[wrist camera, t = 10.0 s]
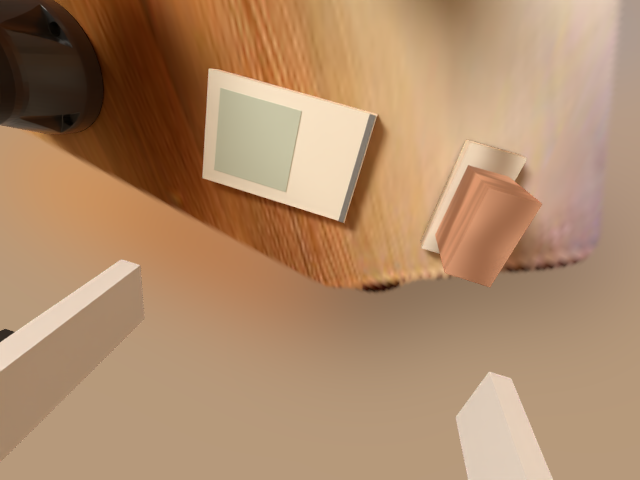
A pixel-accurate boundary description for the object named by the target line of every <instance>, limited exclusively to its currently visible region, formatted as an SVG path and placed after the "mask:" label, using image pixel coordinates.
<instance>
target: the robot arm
mask: <svg viewBox="0 0 640 480" xmlns="http://www.w3.org/2000/svg"><path fill="white" fill-rule="evenodd" d="M102 100H103V81H102V75H101V70H100V66H99V63H98V60H97V57H96V54H95V52H94V50H93V47H92V45H91V43H90V41H89V40H88V38H87V36H86V34H85V33H84V31H83V30H82V28H81V27H80V26H79V24H78V23H77V22H76V20H75V19H74V18H73V17H72V16H71V15H70V14H69V13H68V12H67V11H66V10H65V9H64V8H63V7H62V6H61V5H59V4H58V3H57V2H55V1H54V0H0V125H2V126H7V127H13V128H18V129H24V130H29V131H35V132H40V133H46V134H68V133H75V132H79V131H82V130H85V129H86V128H88V127H89V126H90V125H91V124H93V122H94V121H95V120H96V118H97V116H98V115H99V112H100V109H101V106H102ZM143 320H144V308H143V295H142V281H141V269H140V265H138V264H135V263H131V262H128V261H125V260H120V261H118V262H117V263H116V264H114V265H112V266H111V267H110V268H108V269H107V270H105V271H104V272H102V273H101V274H99V275H98V276H96V277H95V278H93V279H92V280H91V281H89V282H88V283H86V284H85V285H83V286H82V287H80V288H79V289H78V290H76V291H74V292H73V293H72V294H70V295H69V296H67V297H66V298H64V299H63V300H61V301H60V302H58V303H57V304H55V305H54V306H53V307H51V308H50V309H48V310H47V311H45V312H44V313H43V314H41V315H39V316H38V317H37V318H35V319H34V320H32V321H31V322H29V323H28V324H26V325H25V326H24V327H22V328H20V329H19V330H18V331H16V332H13V331H10V330H7V329H4V330H2V331H0V462H1V461H2V460H3V459H4V458H5V457H6V456H7V455H8V454H9V453H10V452H11V451H12V450H13V449H14V448H15V447H16V446H17V445H18V444H19V443H20V442H21V441H22V440H23V439H24V438H25V437H26V436H27V435H28V434H29V433H30V432H31V431H32V430H33V429H34V428H35V427H36V426H37V425H38V424H39V423H40V422H41V421H42V420H43V419H44V418H45V417H46V416H47V415H48V414H49V413H50V412H51V411H52V410H53V409H54V408H55V407H56V406H57V405H58V404H59V403H60V402H61V401H62V400H63V399H64V398H65V397H66V396H67V395H68V394H69V393H70V392H71V391H72V390H73V389H74V388H75V387H76V386H77V385H78V384H79V383H80V382H81V381H82V380H83V379H84V378H85V377H86V376H88V374H90V372H92V371H93V370H94V369H95V367H97V366H98V364H100V362H102V361H103V360H104V359H105V358H106V357H107V356H108V355H109V354H110V352H112V351H113V350H114V348H116V347H117V346H118V345H119V344H120V343H121V342H122V341H123V340H124V339H125V338H126V337H127V335H129V334H130V333H131V332H132V331H133V330H134V329H135V328H136V327H137V326H138V325H139V324H140V323H141V322H142V321H143ZM456 422H457V426H458V432H459V436H460V442H461V446H462V451H463V456H464V461H465V466H466V471H467V476H468V480H553V478H552V476H551V474H550V471H549V469H548V467H547V464H546V462H545V459H544V457H543V454H542V452H541V449H540V447H539V445H538V442H537V440H536V437H535V435H534V432H533V430H532V428H531V425H530V423H529V421H528V418H527V416H526V413H525V411H524V408H523V406H522V403H521V401H520V399H519V396H518V394H517V391H516V389H515V387H514V384H513V382H512V379H511V378H508V377H505V376H502V375H498V374H495V373H492V372H489V373H488V374H487V375H486V377H485V378H484V380H483V381H482V382H481V383H480V385H479V386H478V387H477V389H476V390H475V392H474V393H473V394H472V396H471V397H470V398H469V400H468V401H467V402H466V404H465V405H464V406H463V408H462V409H461V411H460V412H459V413H458V415H457V416H456Z"/></svg>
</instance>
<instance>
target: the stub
mask: <svg viewBox="0 0 640 480" xmlns="http://www.w3.org/2000/svg"><path fill="white" fill-rule="evenodd" d="M526 160H527V158H525V157H523V156H522V155H520V154H516V153H512V152H509V151H505V150H502V149H498V148H495V147H491V146H488V145H484V144H481V143H477V142H473V141H470V140H466V141H465V144H464V146H463V148H462V150H461V152H460V155H459V157H458V159H457V161H456V164H455V166H454V168H453V170H452V172H451V175H450V177H449V179H448V181H447V183H446V186H445V188H444V190H443V192H442V194H441V197H440V199H439V201H438V203H437V206H436V208H435V210H434V212H433V214H432V217H431V219H430V221H429V223H428V225H427V228H426V230H425V232H424V234H423V236H422V239H421V246H422V248H423V249H426V250H429V251H432V252H435V253H439V254H440V256H441V260H442V264H443V268H444V272H445V273H447V274H450V275H453V276H456V277H459V278H462V279H466V280H468V281H472V282H475V283H478V284H481V285H484V286H487V287H491V285H492V283H493V282H494V280H495V279H496V277H497V275H498V274H499V272H500V271H501V269H502V268H503V266H504V264H505V263H506V261H507V260H508V258H509V256H510V255H511V253H512V252H513V250H514V248H515V247H516V245H517V244H518V242H519V240H520V239H521V237H522V236H523V234H524V232H525V231H526V229H527V228H528V226H529V225H530V223H531V221H532V220H533V218H534V217H535V215H536V213H537V212H538V210H539V209H540V207H541V205H542V203H541V202H539V201H538V200H537V199H536V198H534V197H533V196H532V195H531V194H530V193H528V192H527V191H526V190H525V189H523V188H522V187H521V186H520V185H518V184H517V183H516V182H515V180H516V178H517V176H518V175H519V173H520V171H521V169H522V167H523V166H524V164H525V162H526Z"/></svg>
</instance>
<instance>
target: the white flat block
mask: <svg viewBox="0 0 640 480" xmlns="http://www.w3.org/2000/svg"><path fill="white" fill-rule="evenodd" d="M377 115H378V114H375V113H372V112H368V111H365V110H361V109H358V108H354V107H350V106H347V105H343V104H340V103H336V102H333V101H329V100H326V99H322V98H319V97H315V96H311V95H308V94H304V93H301V92H297V91H294V90H290V89H287V88H283V87H280V86H276V85H273V84H269V83H265V82H262V81H258V80H255V79H251V78H248V77H244V76H241V75H237V74H234V73H230V72H226V71H223V70H219V69H211V68H209V71H208V89H207V106H206V123H205V141H204V158H203V176H202V178H204V179H207V180H210V181H214V182H217V183H220V184H223V185H226V186H229V187H233V188H236V189H239V190H242V191H245V192H248V193H252V194H255V195H258V196H261V197H264V198H268V199H271V200H274V201H277V202H280V203H283V204H287V205H290V206H293V207H296V208H299V209H302V210H306V211H309V212H312V213H315V214H318V215H322V216H325V217H328V218H331V219H334V220H337V221H339V222H344V221H345V219H346V216H347V213H348V210H349V207H350V203H351V200H352V197H353V194H354V190H355V187H356V184H357V181H358V177H359V174H360V171H361V167H362V164H363V161H364V158H365V154H366V151H367V148H368V145H369V141H370V138H371V135H372V132H373V128H374V125H375V122H376V119H377Z"/></svg>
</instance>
